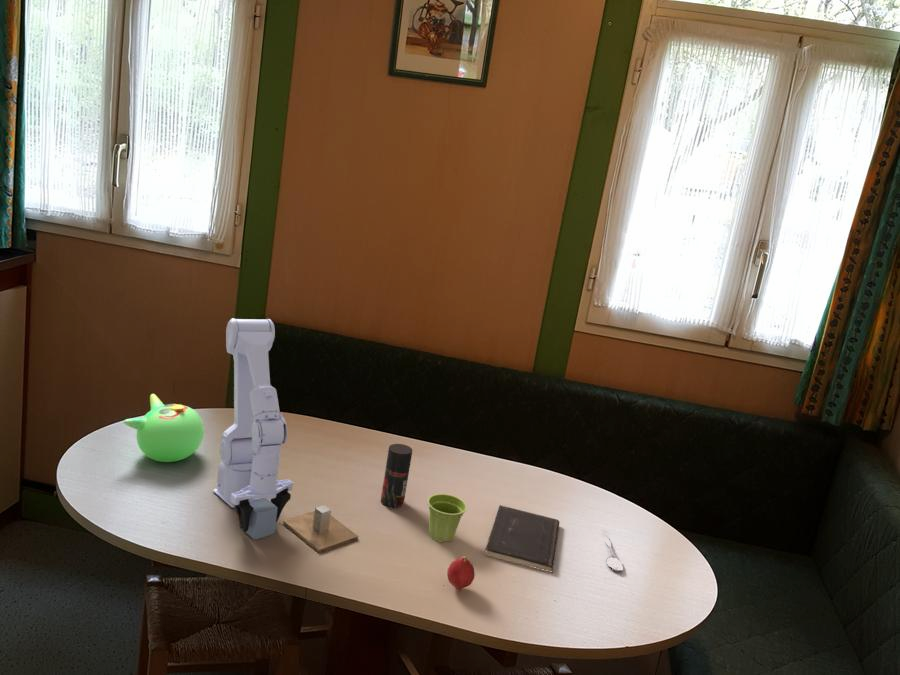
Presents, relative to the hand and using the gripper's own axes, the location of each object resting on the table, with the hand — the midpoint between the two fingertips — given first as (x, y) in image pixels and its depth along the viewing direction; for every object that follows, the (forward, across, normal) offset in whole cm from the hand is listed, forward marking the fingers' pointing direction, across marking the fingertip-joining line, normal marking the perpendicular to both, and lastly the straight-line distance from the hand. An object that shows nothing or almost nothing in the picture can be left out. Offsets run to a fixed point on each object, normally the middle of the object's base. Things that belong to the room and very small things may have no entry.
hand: (258, 524), depth 168 cm
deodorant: (+2, +36, -5) cm, 36 cm away
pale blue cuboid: (+2, 0, 0) cm, 2 cm away
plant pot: (+2, +36, -23) cm, 43 cm away
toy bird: (+2, -1, +42) cm, 42 cm away
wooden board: (+2, +12, -7) cm, 14 cm away
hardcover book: (+2, +53, -35) cm, 64 cm away
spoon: (+2, +69, -50) cm, 85 cm away
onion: (+2, +24, -40) cm, 47 cm away
